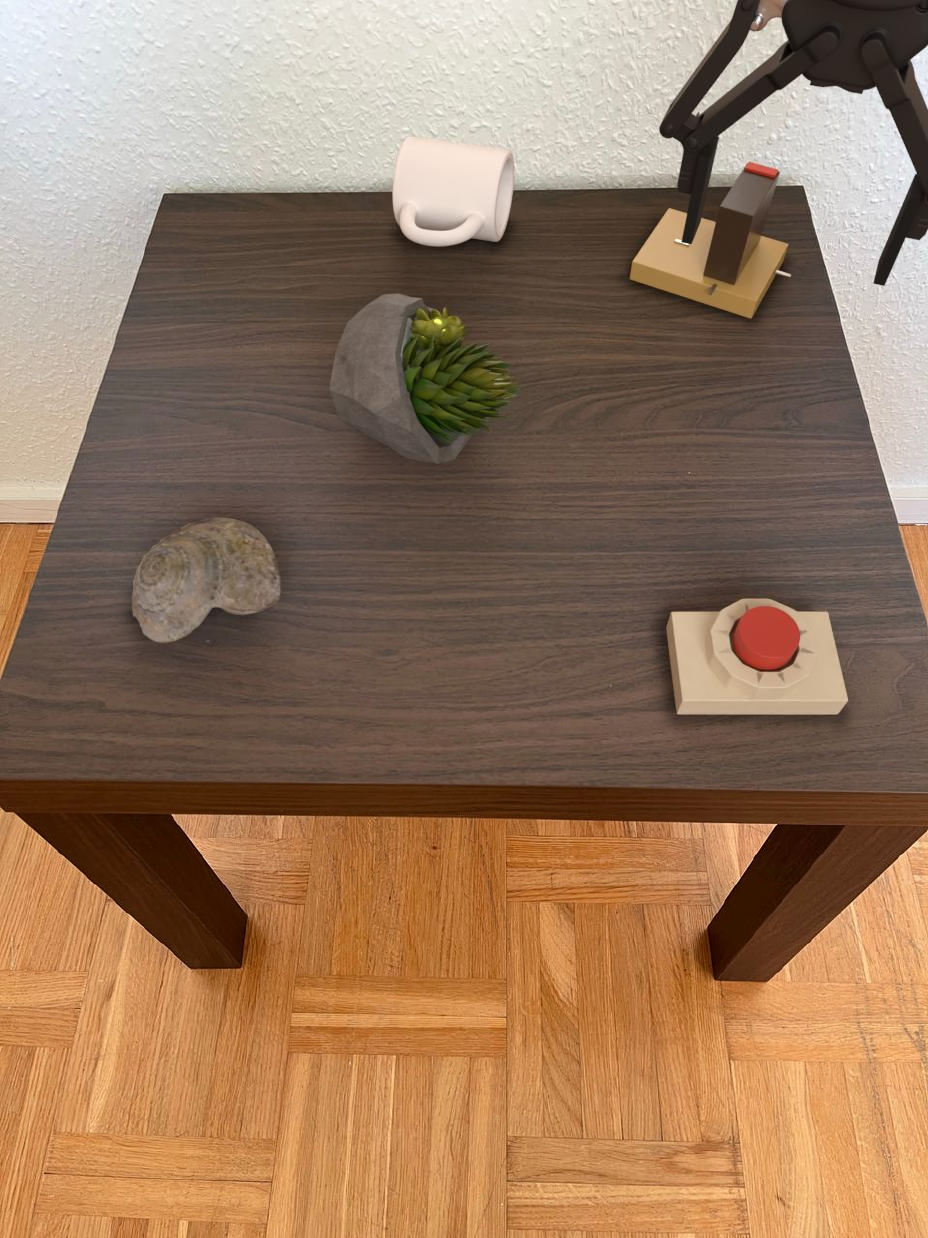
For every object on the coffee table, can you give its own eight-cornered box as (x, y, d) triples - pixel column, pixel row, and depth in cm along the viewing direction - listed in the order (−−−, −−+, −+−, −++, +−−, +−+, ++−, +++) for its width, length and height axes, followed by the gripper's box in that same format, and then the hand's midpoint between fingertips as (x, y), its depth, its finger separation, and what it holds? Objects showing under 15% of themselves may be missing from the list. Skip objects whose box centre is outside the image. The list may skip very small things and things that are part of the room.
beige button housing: (818, 627, 66) (836, 597, 63) (837, 714, 62) (858, 688, 59) (665, 627, 66) (675, 597, 63) (676, 714, 63) (687, 688, 59)
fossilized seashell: (180, 506, 71) (173, 473, 64) (304, 567, 72) (309, 540, 65) (110, 626, 68) (96, 604, 61) (241, 687, 69) (241, 672, 62)
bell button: (787, 618, 62) (794, 605, 61) (797, 670, 60) (805, 657, 59) (728, 619, 62) (734, 605, 61) (736, 670, 60) (743, 658, 59)
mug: (419, 195, 93) (414, 118, 87) (513, 209, 92) (516, 132, 85) (382, 269, 88) (374, 193, 81) (483, 286, 86) (483, 210, 79)
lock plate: (803, 260, 87) (809, 240, 85) (764, 332, 82) (770, 312, 80) (669, 219, 91) (673, 199, 89) (624, 286, 86) (627, 266, 84)
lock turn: (734, 285, 82) (754, 213, 76) (702, 275, 83) (720, 203, 77) (759, 241, 85) (781, 168, 79) (729, 232, 86) (748, 159, 80)
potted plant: (396, 311, 79) (557, 313, 73) (383, 460, 81) (538, 475, 75) (314, 277, 69) (493, 276, 62) (300, 449, 71) (473, 465, 64)
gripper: (1158, -102, 46) (971, 257, 65) (679, -160, 52) (629, 187, 70) (1159, -35, 43) (960, 325, 61) (643, -105, 48) (601, 246, 66)
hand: (783, 252), depth 65 cm, fingers open, 13 cm apart
